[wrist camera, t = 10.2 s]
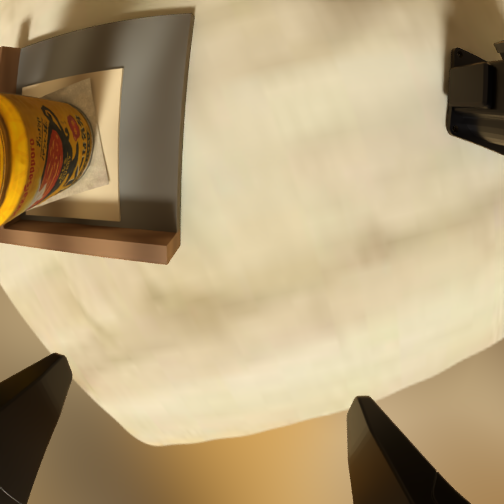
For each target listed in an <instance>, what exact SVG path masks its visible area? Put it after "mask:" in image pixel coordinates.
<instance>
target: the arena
mask: <svg viewBox="0 0 504 504" xmlns="http://www.w3.org/2000/svg"><path fill="white" fill-rule="evenodd" d="M193 24H194V16H193V15H192V13H188V14H173V15H162V16H153V17H145V18H138V19H131V20H125V21H119V22H113V23H108V24H103V25H99V26H94V27H90V28H86V29H82V30H78V31H74V32H70V33H66V34H63V35H60V36H56V37H53V38H50V39H47V40H44V41H41V42H38V43H35V44H32V45H29V46H27V47H24V48H21V49H20V48H13V47H4V46H2V47H0V92H4V93H11V94H19V95H25V96H32V97H38V98H41V97H43V96H45V95H47V94H50V93H52V92H55V91H57V90H59V89H62V88H64V87H67V86H69V85H72V84H74V83H77V82H80V81H82V80H85V79H88V78H90V82H91V90H92V97H93V102H94V108H95V114H96V120H97V125H98V130H99V136H100V141H101V146H102V152H103V157H104V162H105V167H106V171H107V176H108V180H109V184H108V185H104V186H101V187H97V188H94V189H91V190H87V191H84V192H81V193H78V194H74V195H71V196H68V197H65V198H62V199H59V200H56V201H53V202H50V203H47V204H45V205H42V206H39V207H36V208H33V209H31V210H28V211H25V212H23V213H21V214H20V215H18V216H16V217H15V218H13V219H12V220H11V221H9V222H7V223H6V224H4V225H2V226H0V243H7V244H13V245H20V246H27V247H34V248H41V249H48V250H55V251H62V252H70V253H77V254H85V255H92V256H100V257H108V258H115V259H123V260H131V261H140V262H148V263H156V264H165V265H167V264H168V263H169V261H170V260H171V258H172V257H173V255H174V254H175V252H176V251H177V249H178V248H179V247H180V208H181V170H182V147H183V129H184V114H185V101H186V89H187V77H188V67H189V58H190V49H191V40H192V32H193Z"/></svg>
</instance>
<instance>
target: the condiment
mask: <svg viewBox="0 0 504 504" xmlns="http://www.w3.org/2000/svg"><path fill="white" fill-rule="evenodd" d="M108 184H109V180H108V176H107V171H106V167H105V162H104V157H103V152H102V146H101V141H100V136H99V130H98V125H97V120H96V114H95V108H94V102H93V97H92V90H91V82H90V78H88V79H85V80H82V81H80V82H77V83H74V84H72V85H69V86H67V87H64V88H62V89H59V90H57V91H55V92H52V93H50V94H47V95H45V96H43V97H41V98H38V97H32V96H25V95H19V94H11V93H4V92H0V226H2V225H4V224H6V223H7V222H9V221H11V220H12V219H13V218H15V217H16V216H18V215H20V214H21V213H23V212H25V211H28V210H31V209H33V208H36V207H39V206H42V205H45V204H47V203H50V202H53V201H56V200H59V199H62V198H65V197H68V196H71V195H74V194H78V193H81V192H84V191H87V190H91V189H94V188H97V187H101V186H104V185H108Z"/></svg>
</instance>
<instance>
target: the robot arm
mask: <svg viewBox="0 0 504 504" xmlns="http://www.w3.org/2000/svg"><path fill="white" fill-rule="evenodd" d="M494 46H495V48H496V50H497V52H498V53H500V55H501V57H502V59H503V60H498V61H491V62H487V61H485V60H483V59H481V58H479V57H477V56H475V55H473V54H471V53H469V52H467V51H465V50H463V49H461V48H455V49H453V50H452V52H451V69H450V80H449V96H448V103H449V110H448V120H447V131H448V133H449V134H450V135H451V136H454V137H457V138H460V139H463V140H466V141H468V142H471V143H474V144H477V145H479V146H482V147H484V148H487V149H489V150H492V151H494V152H497V153H499V154H501V155H504V40H503V41H500V42H497V43H494ZM457 52H458V53H459V55H460V57H459V56H458V55H457ZM453 126H455V131H453ZM71 381H72V371H71V369H70V366H69V363H68V361H67V358H66V357H65V356H64V355H61V354H58V353H53V354H51V355H49V356H47V357H45V358H43V359H42V360H40V361H38V362H36V363H35V364H33V365H31V366H29V367H27V368H26V369H24V370H22V371H20V372H18V373H16V374H15V375H13V376H11V377H9V378H8V379H6V380H4V381H2V382H0V504H27V502H28V499H29V496H30V492H31V489H32V486H33V484H34V481H35V478H36V475H37V472H38V470H39V467H40V464H41V461H42V459H43V456H44V453H45V451H46V448H47V446H48V444H49V441H50V439H51V436H52V434H53V431H54V429H55V427H56V424H57V422H58V419H59V417H60V414H61V411H62V408H63V405H64V402H65V399H66V396H67V393H68V390H69V387H70V384H71ZM347 438H348V439H347V442H348V465H349V473H350V479H351V487H352V495H353V504H471V503H470V502H468V501H467V500H466V499H465V498H464V497H463V496H461V495H460V494H459V493H458V492H457V491H456V490H455V489H454V488H453V487H452V486H451V485H450V484H449V483H448V482H447V481H446V480H445V479H444V478H443V477H442V476H441V475H440V474H439V472H436V469H435V468H434V467H433V466H432V465H431V464H430V463H429V461H428V460H427V459H426V458H425V457H424V456H423V455H422V454H421V453H420V452H419V451H418V449H417V448H416V447H415V446H414V445H413V444H412V443H411V442H410V440H409V439H408V438H407V437H406V436H405V435H404V434H403V433H402V432H401V431H400V429H399V428H398V427H397V426H396V425H395V424H394V423H393V422H392V420H391V419H390V418H389V417H388V416H387V415H386V414H385V413H384V412H383V410H382V409H381V408H380V407H379V406H378V405H377V404H376V403H375V401H374V400H373V399H372V398H371V397H369V396H357V397H355V399H354V401H353V403H352V405H351V407H350V409H349V411H348V413H347Z"/></svg>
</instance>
